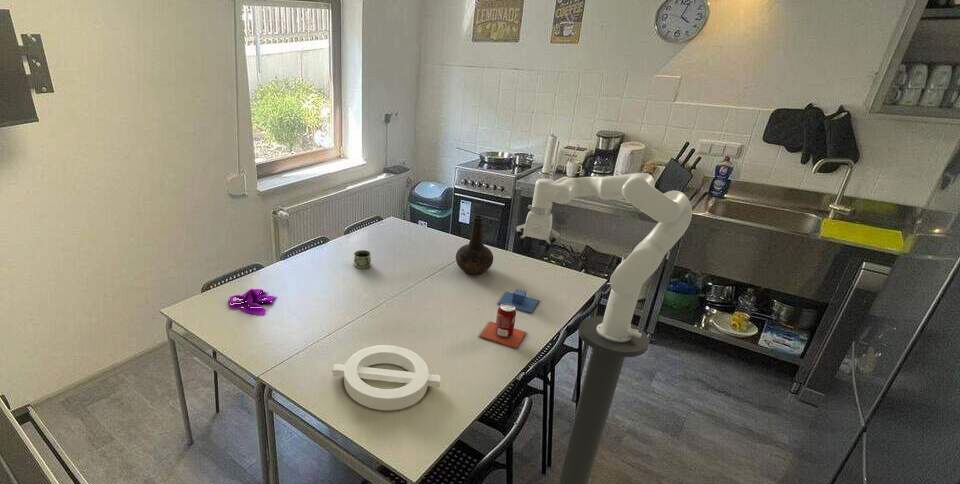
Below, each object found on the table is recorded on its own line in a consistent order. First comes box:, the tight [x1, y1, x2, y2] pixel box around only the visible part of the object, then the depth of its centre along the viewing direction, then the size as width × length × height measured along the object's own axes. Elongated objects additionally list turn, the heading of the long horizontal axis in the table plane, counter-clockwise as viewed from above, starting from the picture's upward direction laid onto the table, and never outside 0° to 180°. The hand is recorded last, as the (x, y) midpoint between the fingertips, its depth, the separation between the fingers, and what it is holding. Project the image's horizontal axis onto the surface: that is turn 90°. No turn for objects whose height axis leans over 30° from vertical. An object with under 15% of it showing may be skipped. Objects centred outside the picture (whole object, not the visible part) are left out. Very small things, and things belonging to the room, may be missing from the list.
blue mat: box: [498, 291, 540, 314], centre depth 211 cm, size 14×12×1 cm
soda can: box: [495, 303, 517, 337], centre depth 186 cm, size 7×7×12 cm
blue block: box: [512, 288, 527, 305], centre depth 210 cm, size 4×4×4 cm
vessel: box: [353, 249, 372, 269], centre depth 244 cm, size 12×9×6 cm
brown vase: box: [455, 214, 494, 275], centre depth 234 cm, size 18×18×28 cm
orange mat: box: [479, 321, 526, 349], centre depth 189 cm, size 14×12×1 cm
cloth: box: [228, 288, 276, 316], centre depth 210 cm, size 22×19×6 cm
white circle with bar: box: [332, 344, 441, 411], centre depth 164 cm, size 28×28×5 cm
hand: (534, 249), depth 203 cm, fingers open, 9 cm apart
